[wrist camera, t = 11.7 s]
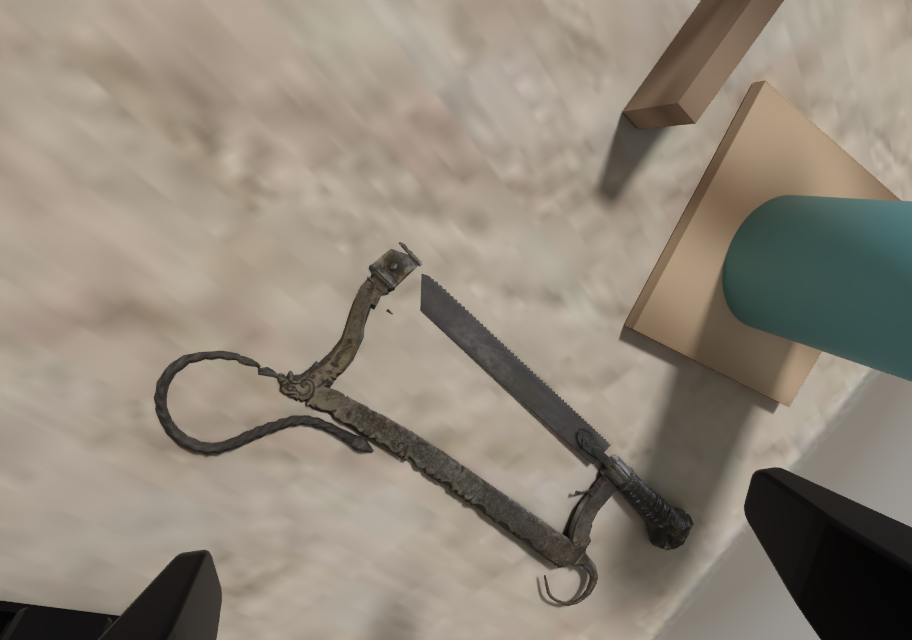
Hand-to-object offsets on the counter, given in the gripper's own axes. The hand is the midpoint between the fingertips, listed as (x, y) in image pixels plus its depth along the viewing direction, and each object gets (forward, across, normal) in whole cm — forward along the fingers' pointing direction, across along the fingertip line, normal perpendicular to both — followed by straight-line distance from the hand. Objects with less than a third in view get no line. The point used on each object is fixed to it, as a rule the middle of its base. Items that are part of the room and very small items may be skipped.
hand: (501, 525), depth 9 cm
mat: (+14, -16, +1) cm, 21 cm away
